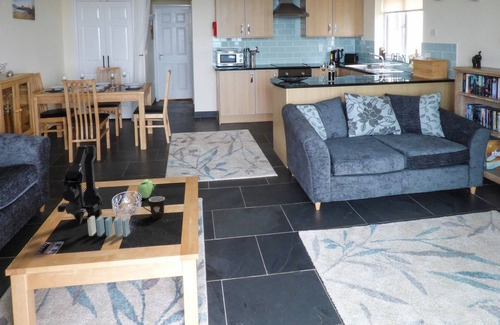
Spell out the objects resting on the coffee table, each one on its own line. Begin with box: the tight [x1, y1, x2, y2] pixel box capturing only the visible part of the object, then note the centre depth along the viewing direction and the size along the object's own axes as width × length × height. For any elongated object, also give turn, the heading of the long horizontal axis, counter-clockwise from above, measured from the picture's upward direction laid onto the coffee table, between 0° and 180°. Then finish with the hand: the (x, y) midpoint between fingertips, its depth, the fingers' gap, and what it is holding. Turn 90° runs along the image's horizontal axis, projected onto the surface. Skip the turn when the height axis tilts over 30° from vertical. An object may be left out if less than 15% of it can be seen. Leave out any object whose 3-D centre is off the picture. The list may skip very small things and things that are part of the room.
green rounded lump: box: [136, 178, 156, 199], centre depth 278 cm, size 12×11×11 cm
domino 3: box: [104, 216, 114, 237], centre depth 225 cm, size 2×5×8 cm, turn 175°
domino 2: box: [95, 215, 106, 237], centre depth 226 cm, size 2×5×8 cm, turn 175°
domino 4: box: [113, 216, 123, 238], centre depth 225 cm, size 2×5×8 cm, turn 175°
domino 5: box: [121, 216, 131, 238], centre depth 224 cm, size 2×5×8 cm, turn 175°
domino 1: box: [86, 216, 97, 237], centre depth 226 cm, size 2×5×8 cm, turn 175°
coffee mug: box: [141, 196, 166, 219], centre depth 249 cm, size 12×9×10 cm
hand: (79, 224), depth 226 cm, fingers closed
